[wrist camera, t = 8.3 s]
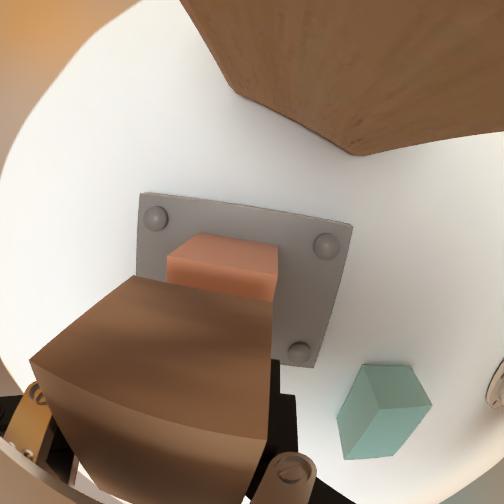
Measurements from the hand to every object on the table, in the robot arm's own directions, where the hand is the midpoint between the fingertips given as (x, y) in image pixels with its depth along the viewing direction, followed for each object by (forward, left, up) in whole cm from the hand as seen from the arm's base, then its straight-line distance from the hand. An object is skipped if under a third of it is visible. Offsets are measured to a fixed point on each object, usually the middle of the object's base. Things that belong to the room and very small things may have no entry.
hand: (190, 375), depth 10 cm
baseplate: (0, 0, -10) cm, 10 cm away
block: (-4, -16, -10) cm, 19 cm away
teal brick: (-14, +9, -10) cm, 20 cm away
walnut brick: (0, 0, -1) cm, 1 cm away
